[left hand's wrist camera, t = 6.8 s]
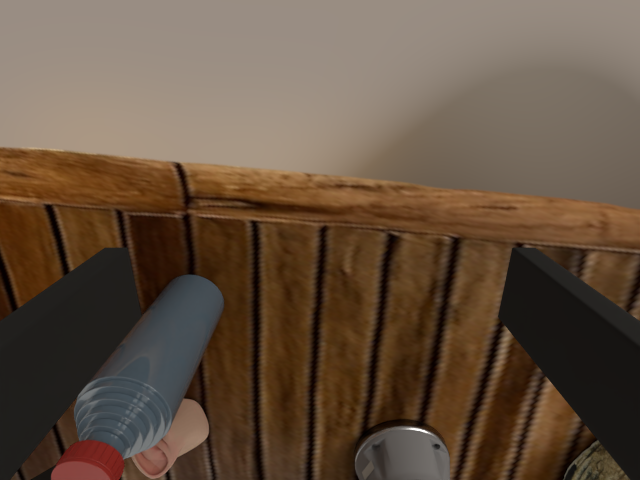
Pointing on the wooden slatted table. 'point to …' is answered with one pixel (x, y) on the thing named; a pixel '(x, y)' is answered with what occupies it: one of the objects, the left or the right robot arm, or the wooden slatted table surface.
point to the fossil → (595, 466)
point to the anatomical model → (174, 440)
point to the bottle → (150, 369)
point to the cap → (89, 462)
